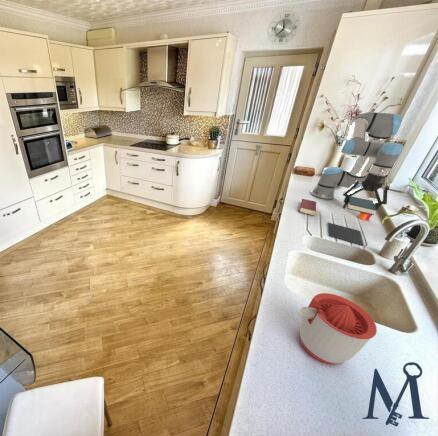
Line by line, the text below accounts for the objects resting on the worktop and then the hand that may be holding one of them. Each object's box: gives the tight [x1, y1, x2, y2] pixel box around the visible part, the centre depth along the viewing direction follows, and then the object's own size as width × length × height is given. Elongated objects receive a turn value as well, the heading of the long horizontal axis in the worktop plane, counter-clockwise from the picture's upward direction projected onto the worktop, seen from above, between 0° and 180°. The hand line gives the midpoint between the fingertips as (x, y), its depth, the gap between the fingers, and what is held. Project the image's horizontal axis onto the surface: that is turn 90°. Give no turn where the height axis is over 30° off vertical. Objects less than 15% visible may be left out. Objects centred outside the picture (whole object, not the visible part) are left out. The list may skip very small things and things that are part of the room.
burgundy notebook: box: [298, 198, 317, 217], centre depth 165 cm, size 17×9×4 cm, turn 146°
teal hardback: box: [346, 195, 377, 216], centre depth 130 cm, size 14×12×3 cm
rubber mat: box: [328, 222, 364, 247], centre depth 139 cm, size 18×16×1 cm
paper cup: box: [357, 197, 378, 221], centre depth 154 cm, size 8×8×14 cm
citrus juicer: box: [298, 292, 378, 365], centre depth 72 cm, size 16×17×20 cm
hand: (356, 210), depth 132 cm, fingers closed on teal hardback, 11 cm apart
